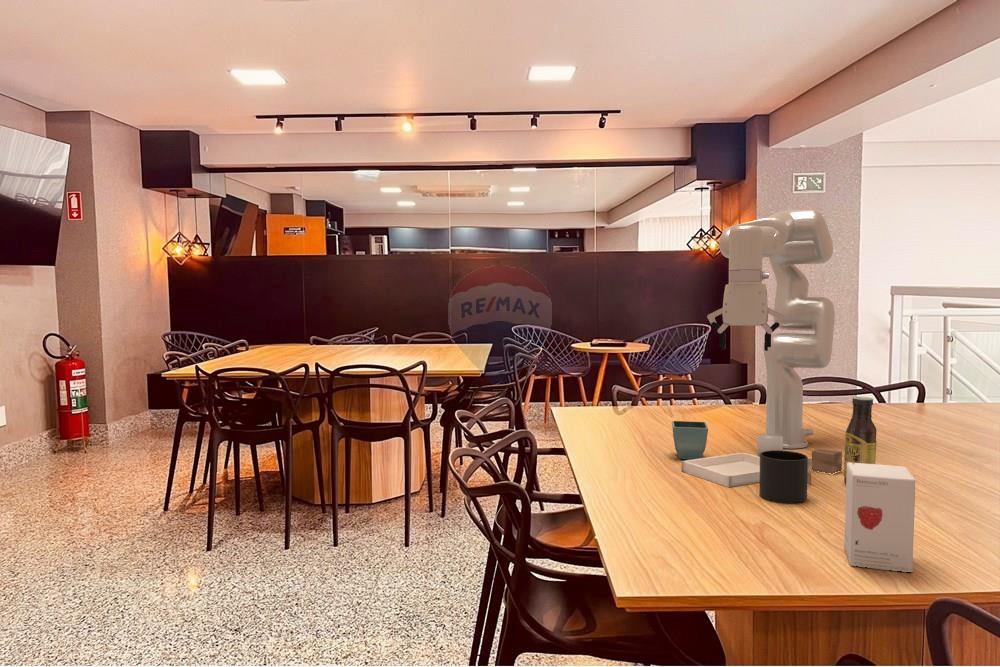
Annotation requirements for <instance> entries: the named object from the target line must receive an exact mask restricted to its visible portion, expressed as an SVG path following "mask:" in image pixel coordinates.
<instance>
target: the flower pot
mask: <svg viewBox="0 0 1000 667" xmlns="http://www.w3.org/2000/svg"><path fill="white" fill-rule="evenodd" d="M671 425H672V426H671V427H672V435H673V436H672V437H673V443H674V444H673V445H674V449H675V451H676V455H677V456H678V458H679V459H681V460H693V459H700V458H703V457H702V456H704V453H705V451H706V447H707V441H708V433H709V427H708V424H707V422H706V421H689V420H684V421H683V420H671Z"/></svg>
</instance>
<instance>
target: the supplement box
mask: <svg viewBox="0 0 1000 667" xmlns="http://www.w3.org/2000/svg"><path fill="white" fill-rule="evenodd" d="M915 503H916V479H915V477H914V476H913V475H912V473H911V472H910V471H909V470H908V468H907V467H906V466H903V465H902V466H901V465H889V464H877V463H875V464H864V463H851V462H848V463H847V476H846V484H845V508H844V509H845V514H844V515H845V516H844V540H843V541H844V544H843V547H844V550H845V553H846V554H845V555H846V556H847V560H848V563H849V565H850V567H856V566H858V567H857V568H859V567H860V568H865V567H867V568H868V569H873V570H874V569H875V570H883V571H889V570H892V571H891V572H897V571H902V572H901V573H906V572H913V570H914V568H913V566H914V563H913V562H914V536H915V510H916V509H915V507H916V506H915V505H916V504H915ZM867 568H866V569H867Z"/></svg>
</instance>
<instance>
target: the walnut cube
mask: <svg viewBox="0 0 1000 667" xmlns="http://www.w3.org/2000/svg"><path fill="white" fill-rule="evenodd" d="M811 458H812V467H811V471H812V470H813V471H812V472H814V471H819V472H825V473H831V474H833V473H835V472H838V471H841V470H842V469H843V451H842V450H835V449H830V448H825V447H824V448H823V447H820V448H818V449H817V448H816V449H813V450H812V451H811ZM842 471H843V470H842ZM842 471H841V472H842ZM819 472H818V473H819Z"/></svg>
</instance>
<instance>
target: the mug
mask: <svg viewBox="0 0 1000 667" xmlns="http://www.w3.org/2000/svg"><path fill="white" fill-rule="evenodd" d="M808 457H809V456H807V455H806V454H803V453H801V452H796V451H791V450H783V451H781V450H772V451H764V452H761V453H760V482H759V486H758V487H759V490H758V491H759V492H758V493H759V495H760V497H761V498H763V499H765V500H767V501H771V502H774V501H775V502H774V503H780V502H781V504H799V502H800V503H803V502H806V501H807V499H808V485H807V477H808Z"/></svg>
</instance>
